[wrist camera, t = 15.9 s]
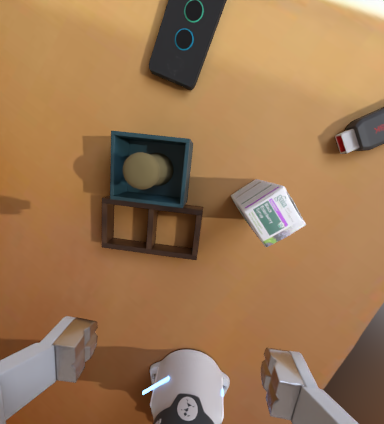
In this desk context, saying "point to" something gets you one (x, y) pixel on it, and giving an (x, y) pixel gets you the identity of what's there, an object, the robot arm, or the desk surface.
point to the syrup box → (268, 210)
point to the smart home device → (185, 40)
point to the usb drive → (362, 133)
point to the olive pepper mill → (147, 170)
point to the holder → (148, 230)
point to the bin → (170, 146)
